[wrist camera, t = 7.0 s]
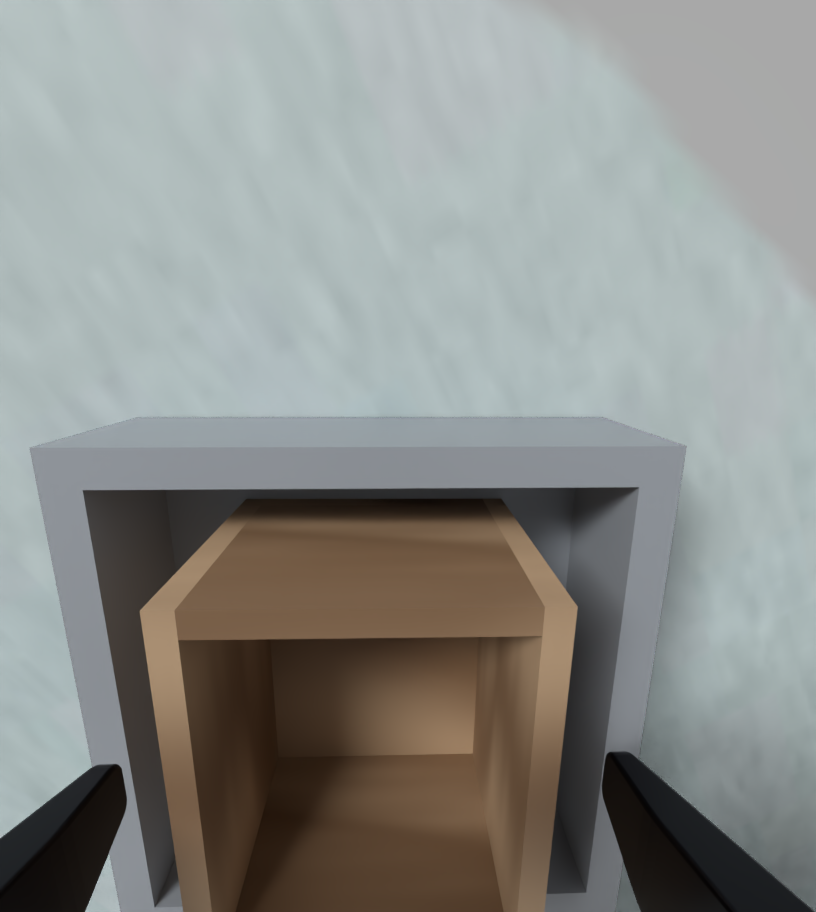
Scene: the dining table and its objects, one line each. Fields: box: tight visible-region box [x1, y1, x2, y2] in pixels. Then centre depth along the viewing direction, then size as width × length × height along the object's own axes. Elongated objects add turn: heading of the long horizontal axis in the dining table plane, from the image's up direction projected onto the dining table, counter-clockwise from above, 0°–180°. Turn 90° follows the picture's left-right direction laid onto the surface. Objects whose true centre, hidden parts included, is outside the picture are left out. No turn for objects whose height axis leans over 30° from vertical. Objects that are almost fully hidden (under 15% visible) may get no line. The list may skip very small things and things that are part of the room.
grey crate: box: [30, 417, 687, 912], centre depth 11 cm, size 12×12×4 cm
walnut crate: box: [140, 499, 578, 912], centre depth 10 cm, size 8×6×5 cm
